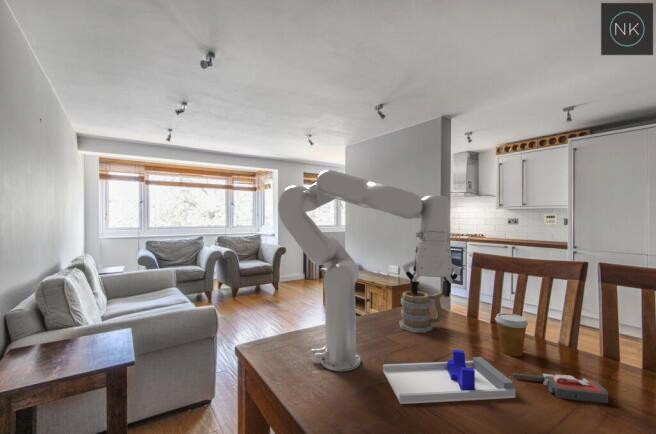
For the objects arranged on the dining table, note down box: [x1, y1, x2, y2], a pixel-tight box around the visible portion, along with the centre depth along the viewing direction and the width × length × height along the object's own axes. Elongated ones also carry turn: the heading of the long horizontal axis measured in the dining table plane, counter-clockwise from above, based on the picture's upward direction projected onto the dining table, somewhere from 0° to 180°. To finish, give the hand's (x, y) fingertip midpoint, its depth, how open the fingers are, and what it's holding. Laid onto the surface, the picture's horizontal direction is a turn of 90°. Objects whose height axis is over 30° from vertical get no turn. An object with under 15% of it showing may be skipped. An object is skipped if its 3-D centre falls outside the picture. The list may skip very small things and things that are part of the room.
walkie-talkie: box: [512, 373, 609, 404], centre depth 79 cm, size 9×4×20 cm
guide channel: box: [382, 356, 516, 405], centre depth 81 cm, size 30×16×4 cm, turn 95°
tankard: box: [398, 290, 448, 334], centre depth 124 cm, size 20×13×15 cm, turn 88°
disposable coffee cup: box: [494, 312, 529, 357], centre depth 101 cm, size 10×10×12 cm
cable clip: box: [446, 349, 475, 391], centre depth 82 cm, size 12×4×6 cm, turn 168°
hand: (429, 294), depth 87 cm, fingers open, 9 cm apart
